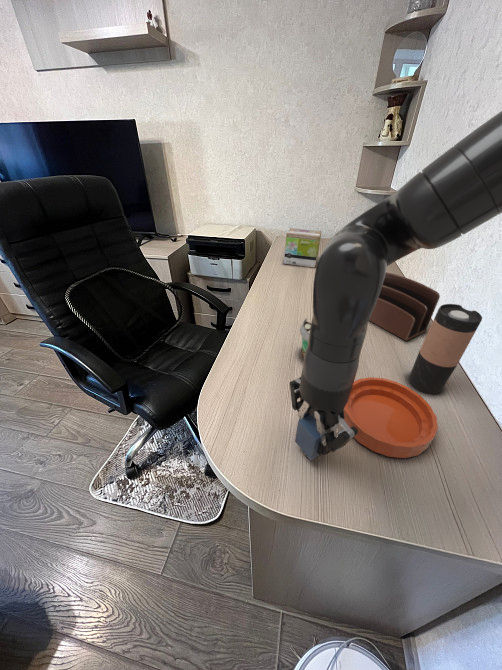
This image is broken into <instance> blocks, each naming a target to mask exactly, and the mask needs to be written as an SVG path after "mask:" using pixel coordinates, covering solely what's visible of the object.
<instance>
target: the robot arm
mask: <svg viewBox="0 0 502 670" xmlns="http://www.w3.org/2000/svg"><path fill="white" fill-rule="evenodd" d="M501 214H502V110H501V111H499V112H497V113H496V114H495V115H494V116H492V117H491V118H490V119H488V120H487V121H485V122H483V123H482V124H481V125H480V126H478V127H476V128H475V129H474V130H473V131H471V133H469V134H467V135H466V136H464V137H463V138H462V139H460V140H459V141H458V142H457V143H456V144H454V145H453V146H452V147H450V148H449V149H448V150H446V151H445V152H443V153H442V154H441V155H440V156H439V157H437V158H436V159H435V160H433V161H432V162H431V163H430V164H428V165H426V167H424V168H422V170H421V171H419V172H417V173H416V174H415V175H414V176H413V177H412V178H410V179H409V180H408V181H406V183H405V184H404V185H402V186H401V187H400V188H399V189H398V190H396V191H395V192H394V193H393V194H391V195H390V196H388V197H386V198H385V199H383V200H381V201H380V202H378V203H377V204H375V205H373V206H372V207H370V208H369V209H367V210H366V211H364V212H363V213H361V214H360V215H358V216H357V217H355V218H354V219H352V220H351V221H349V222H348V223H347V224H346V225H344V226H342V228H341V229H340V230H337V232H335V234H334V235H333V236H332V237H331V238H330V239H329V240H328V242H327V243H326V245H325V247H324V248H323V250H322V251H321V253H320V254H319V256H318V259H317V262H316V265H315V271H314V278H313V287H312V318H311V322H310V323H311V327H310V334H309V340H308V345H307V348H306V351H305V355H304V360H303V362H302V368H301V376H300V377H298V378H295V379H293V380H291V381H289V390H290V401H291V407H292V409H293V410H294V411H297V412H298V413H297V417H298V421H299V420H301V419H303V418H304V417H306V416H308V415H311V416H312V417H314V418H315V420H316V423H317V432H319V433H320V442H319V446H318V450H317V453H318V454H319V456H318V457H321V456H322V457H325V456H326V455H328V454H329V453H335V452H336V451H338V450H340V449H341V448H343V447H344V446H346V445H347V444H349V442H350V441H352V440H353V439H354V437H355V436H356V435H357V434H358V430H357V428H356V427H354V426H352V427H351V428H350V427H349V426H348V424H347V423H346V422H345V420H344V417H345V415H344V408H345V406H346V404H347V402H348V400H349V396H350V393H351V390H352V386H353V383H354V381H356V380H355V379H356V377H357V373H358V369H359V366H360V365H359V363H360V356H361V352H362V348H363V345H364V342H365V339H366V336H367V332H368V323H369V322H370V321H369V319H370V317H371V315H372V312H373V310H374V308H375V305H376V303H377V300H378V297H379V295H380V292H381V289H382V285H383V282H384V278H385V274H386V272H387V267H389V266H390V265H392V264H394V263H395V262H397V261H399V260H401V259H402V258H405V257H406V256H408V255H410V254H413V253H414V252H416V251H418V250H420V249H425V250H435V249H438V248H441V247H443V246H446V245H447V244H449V243H452V242H453V241H455V240H457V239H459V238H461V237H462V235H465V234H467V233H469V232H471V231H472V230H474V229H477V228H478V227H480V226H482V225H483V224H485V223H487V222H488V221H490V220H492V219H494V218H495V217H497V216H498V215H501ZM328 433H329V434H328ZM327 434H328V435H327Z"/></svg>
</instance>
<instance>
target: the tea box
mask: <svg viewBox="0 0 502 670" xmlns="http://www.w3.org/2000/svg"><path fill="white" fill-rule="evenodd" d="M285 235H286V236H285V245H284V254H283V255H284V258H283V264H284V265H292V266H300V267H305V268H316V265H317V262H318V258H319V251H320V245H321V237H322V231H321V230H313V229H302V228H292V227H291V228H289V230H288V231H287V233H286V234H285Z"/></svg>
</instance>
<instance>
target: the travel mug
mask: <svg viewBox="0 0 502 670" xmlns="http://www.w3.org/2000/svg"><path fill="white" fill-rule="evenodd" d="M482 320H483V316H482V315H481V314H480V312H478V311H477V310H468V309H466V308H464V307H463V305H461V304H457V303H445V304H442V305H440V306H439V307H438V308H437V312H436V314H435V316H434V318H433V320H432V322H431V324H430V327H429V329H428V331H427V334H426V335H425V337H424V340H423V341H422V344H421V347H420V349H419V350H418V354H417V356H416V359H415V361H414V363H413V366H412V368H411V372H410V373H409V377H408V382H409V383H410V385H411V386H412V387H413V388H414V389H415V390H417V391H418V392H420V393H424V394H427V395H437V394H440V393H441V391H442V390H443V389H444V387H445V385H446V384H447V383H448V380H449V379H450V378H451V376H452V374H453V373H454V371H455V370H456V368H457V366H458V365H459V363H460V361H461V359H462V357H463V356H464V354H465V351H466V350H467V348H468V346H469V344H470V343H471V341H472V339H473V337H474V335H475V334H476V331H477V330H478V328H479V326H480V324H481V322H482Z"/></svg>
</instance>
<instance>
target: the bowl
mask: <svg viewBox="0 0 502 670" xmlns="http://www.w3.org/2000/svg"><path fill="white" fill-rule="evenodd" d="M344 415H345V417H344V420H345V422H346V423H347V424H348V426H349V427H350V428H351V427H352V426H354V427H356V428H357V430H358V434H357V435H356V436H355V437H353V439H355V440H356V441H357V442H358V443H359V444H360V445H362V446H363V447H365V448H367V449H369V450H370V451H372V452H374V453H378V454H380V455H382V456H385V457H388V458H398V459H408V458H412V457H413V458H414V457H416V456H419V455H421V454H422V453H423V452H424V451H426V450H427V449H429V446H430V445H431V444H432V442H433V440H434V438H435V436H436V434H437V432H438V428H439V427H438V420H437V415H436V413H435V412H434V410H433V408H432V406H431V405H430V404H429V403H428V402H427V401H426V400H425V399H424V398H423V397H422V396H421V394H419V393H418V392H416V391H414V390H413V389H412V388H410V387H408V386H406V385H404V384H402V383H400V382H397V381H395V380H391V379H388V378H383V377H363V378H358V379H357V380H354V383H353V386H352V390H351V393H350V396H349V400H348V402H347V404H346V406H345V408H344Z"/></svg>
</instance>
